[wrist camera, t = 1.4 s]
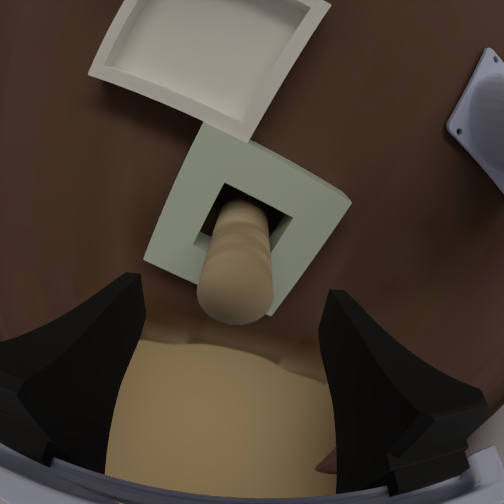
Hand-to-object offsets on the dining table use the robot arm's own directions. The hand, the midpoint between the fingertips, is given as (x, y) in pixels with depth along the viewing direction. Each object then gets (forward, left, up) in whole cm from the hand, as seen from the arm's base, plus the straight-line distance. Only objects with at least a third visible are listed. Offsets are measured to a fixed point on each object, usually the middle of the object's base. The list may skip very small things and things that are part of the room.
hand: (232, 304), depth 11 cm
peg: (0, 0, -9) cm, 9 cm away
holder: (0, 0, -9) cm, 9 cm away
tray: (+7, -9, -9) cm, 14 cm away
